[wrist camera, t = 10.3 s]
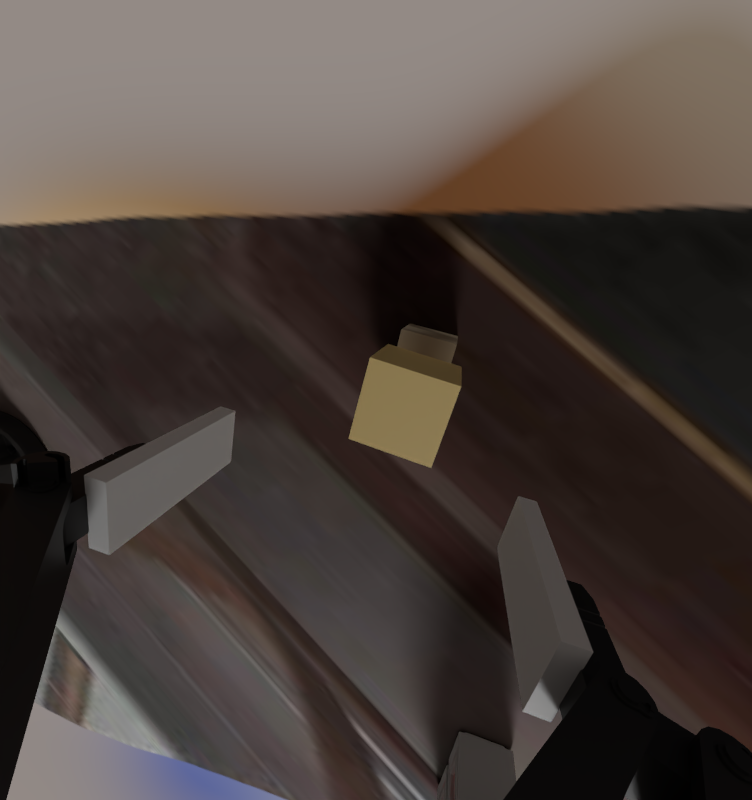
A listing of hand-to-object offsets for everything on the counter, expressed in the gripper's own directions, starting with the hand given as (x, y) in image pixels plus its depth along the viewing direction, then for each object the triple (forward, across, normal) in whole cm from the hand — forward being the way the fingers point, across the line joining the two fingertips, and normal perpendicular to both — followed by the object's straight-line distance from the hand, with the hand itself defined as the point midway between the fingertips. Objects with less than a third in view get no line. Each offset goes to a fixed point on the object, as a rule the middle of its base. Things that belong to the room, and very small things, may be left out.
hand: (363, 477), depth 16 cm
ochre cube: (+14, +1, 0) cm, 14 cm away
